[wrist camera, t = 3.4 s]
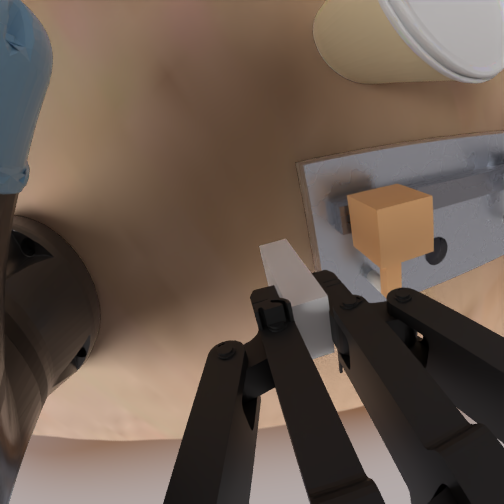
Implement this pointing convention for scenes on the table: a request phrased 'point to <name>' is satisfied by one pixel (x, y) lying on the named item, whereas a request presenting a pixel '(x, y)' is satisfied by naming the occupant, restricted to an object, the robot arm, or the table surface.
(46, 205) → the table surface
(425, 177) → the plate
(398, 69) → the coffee cup
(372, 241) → the block
